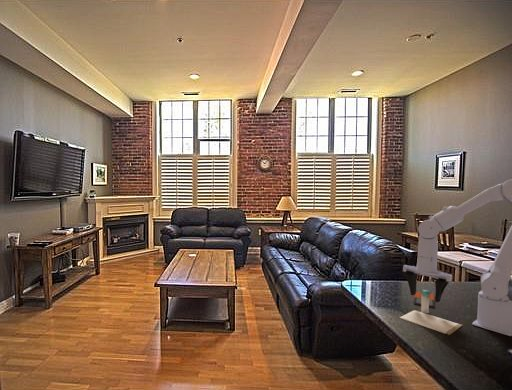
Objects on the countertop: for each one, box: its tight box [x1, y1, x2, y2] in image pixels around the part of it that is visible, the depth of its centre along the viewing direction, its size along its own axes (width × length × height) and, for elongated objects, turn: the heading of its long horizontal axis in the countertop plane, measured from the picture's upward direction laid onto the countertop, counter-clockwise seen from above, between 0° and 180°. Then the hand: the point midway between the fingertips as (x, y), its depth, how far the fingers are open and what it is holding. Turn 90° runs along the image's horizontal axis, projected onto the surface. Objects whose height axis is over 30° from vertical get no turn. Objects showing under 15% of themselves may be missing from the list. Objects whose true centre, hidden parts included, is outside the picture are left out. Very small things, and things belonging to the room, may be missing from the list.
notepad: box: [399, 309, 463, 336], centre depth 98 cm, size 14×10×1 cm
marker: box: [420, 289, 431, 314], centre depth 106 cm, size 2×2×7 cm
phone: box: [413, 291, 436, 309], centre depth 118 cm, size 6×1×15 cm
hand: (425, 297), depth 106 cm, fingers open, 7 cm apart
